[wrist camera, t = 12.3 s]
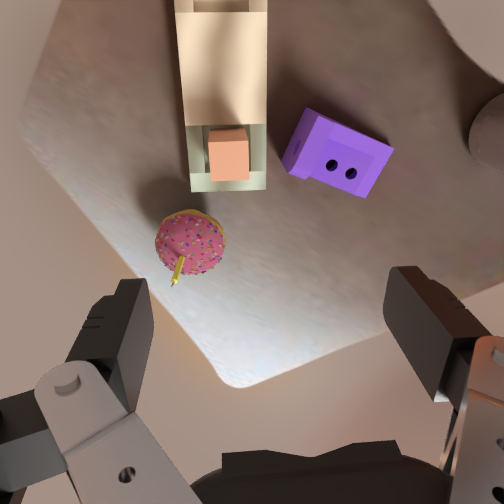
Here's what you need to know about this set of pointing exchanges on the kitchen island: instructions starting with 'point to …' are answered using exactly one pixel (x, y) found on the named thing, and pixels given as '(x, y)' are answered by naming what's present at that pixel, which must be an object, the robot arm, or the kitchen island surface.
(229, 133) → the salmon orange rectangular block
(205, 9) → the rail
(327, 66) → the kitchen island surface
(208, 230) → the cupcake
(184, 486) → the robot arm
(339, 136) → the bracket
